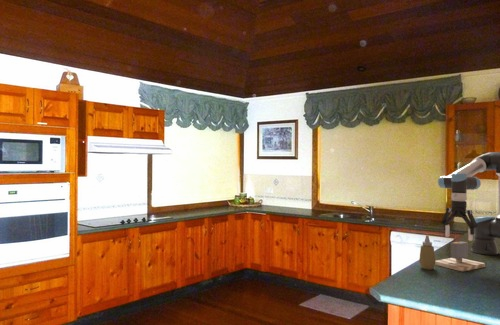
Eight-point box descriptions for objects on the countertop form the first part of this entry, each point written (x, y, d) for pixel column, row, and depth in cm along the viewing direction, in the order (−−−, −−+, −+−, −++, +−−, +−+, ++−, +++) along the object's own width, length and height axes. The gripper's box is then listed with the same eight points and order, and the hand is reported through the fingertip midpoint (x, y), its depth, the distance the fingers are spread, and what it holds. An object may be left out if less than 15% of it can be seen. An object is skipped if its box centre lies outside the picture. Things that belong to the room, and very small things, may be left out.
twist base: (456, 260, 233) (456, 252, 233) (484, 266, 218) (484, 258, 218) (433, 264, 223) (433, 256, 223) (462, 271, 208) (462, 262, 208)
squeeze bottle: (426, 270, 210) (426, 236, 210) (415, 267, 217) (415, 234, 217) (438, 269, 212) (438, 236, 212) (428, 266, 219) (428, 233, 220)
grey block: (461, 255, 225) (461, 240, 225) (467, 256, 222) (467, 241, 222) (450, 257, 220) (450, 242, 220) (456, 258, 217) (456, 243, 217)
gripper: (434, 198, 230) (434, 235, 230) (476, 202, 208) (476, 242, 208) (442, 198, 234) (442, 234, 233) (485, 202, 212) (485, 241, 212)
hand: (458, 238), depth 221 cm, fingers open, 13 cm apart
